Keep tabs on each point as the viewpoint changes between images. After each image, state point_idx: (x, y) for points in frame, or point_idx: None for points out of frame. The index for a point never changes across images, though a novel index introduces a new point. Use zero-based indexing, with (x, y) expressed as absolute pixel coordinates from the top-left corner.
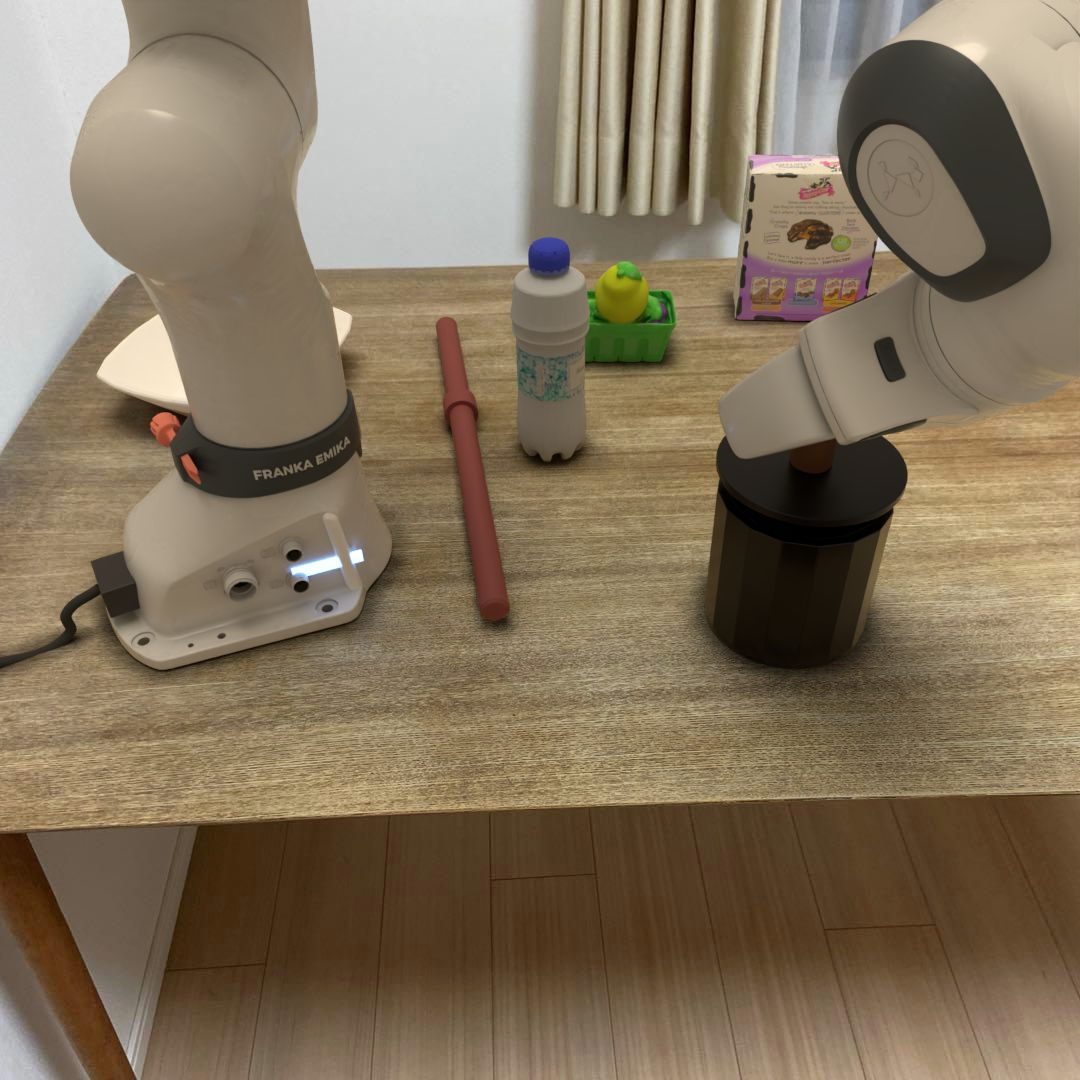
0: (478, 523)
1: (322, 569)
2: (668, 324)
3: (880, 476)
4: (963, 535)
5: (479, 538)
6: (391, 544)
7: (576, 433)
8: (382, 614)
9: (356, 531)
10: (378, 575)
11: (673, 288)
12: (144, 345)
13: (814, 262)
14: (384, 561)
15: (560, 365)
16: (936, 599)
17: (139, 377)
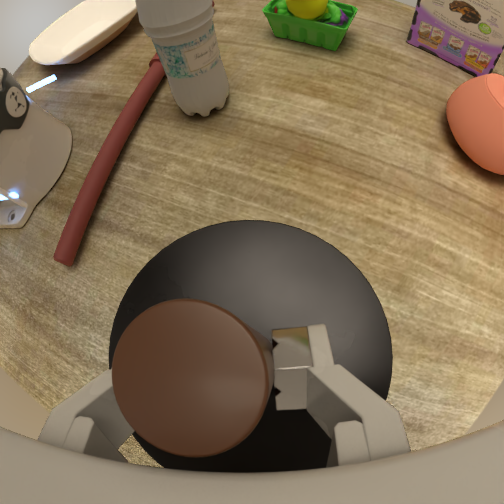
0: (88, 177)
1: (2, 199)
2: (338, 28)
3: (318, 438)
4: (461, 325)
5: (80, 193)
6: (61, 170)
7: (206, 101)
8: (33, 227)
9: (13, 179)
10: (44, 195)
11: (376, 10)
12: (61, 23)
13: (464, 31)
14: (49, 185)
15: (174, 52)
16: (395, 390)
17: (51, 40)
